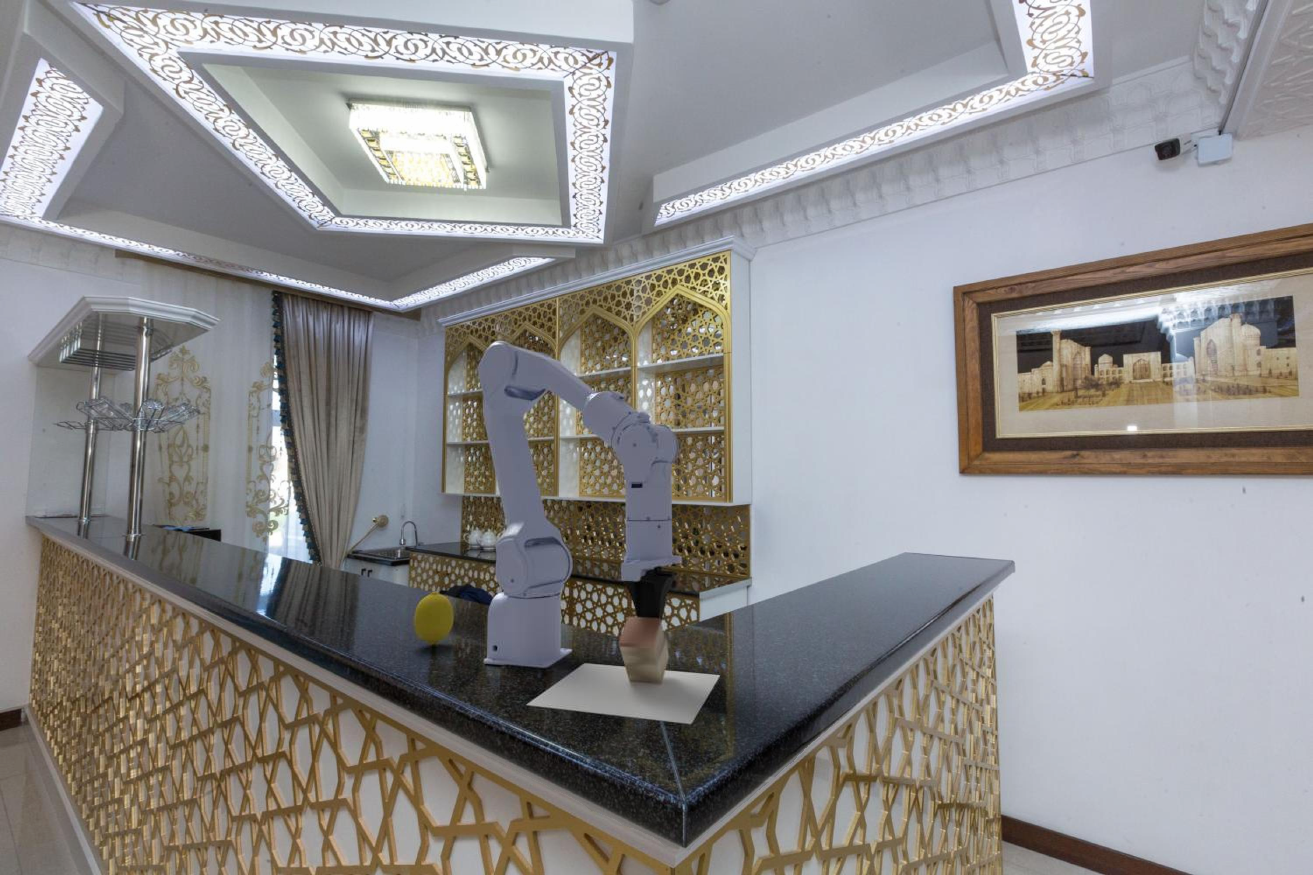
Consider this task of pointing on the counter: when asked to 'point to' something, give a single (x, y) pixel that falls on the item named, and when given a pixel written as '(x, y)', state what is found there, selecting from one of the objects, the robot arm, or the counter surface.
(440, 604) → the lemon
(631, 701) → the grey mat
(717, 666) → the counter surface
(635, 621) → the maple block
